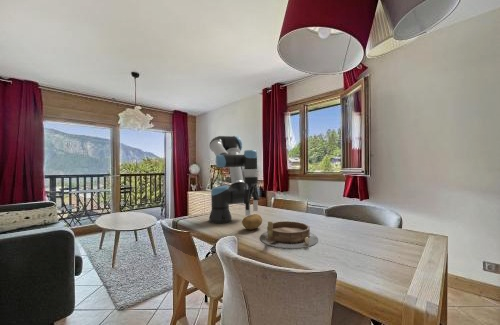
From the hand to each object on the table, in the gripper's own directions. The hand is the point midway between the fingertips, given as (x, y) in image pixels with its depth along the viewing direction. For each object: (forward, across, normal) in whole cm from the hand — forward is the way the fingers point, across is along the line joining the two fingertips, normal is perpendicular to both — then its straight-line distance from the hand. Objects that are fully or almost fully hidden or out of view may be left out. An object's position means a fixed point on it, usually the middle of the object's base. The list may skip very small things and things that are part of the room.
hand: (252, 213), depth 133 cm
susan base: (+10, -10, -23) cm, 26 cm away
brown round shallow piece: (+8, -11, -22) cm, 26 cm away
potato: (+10, 0, 0) cm, 10 cm away
